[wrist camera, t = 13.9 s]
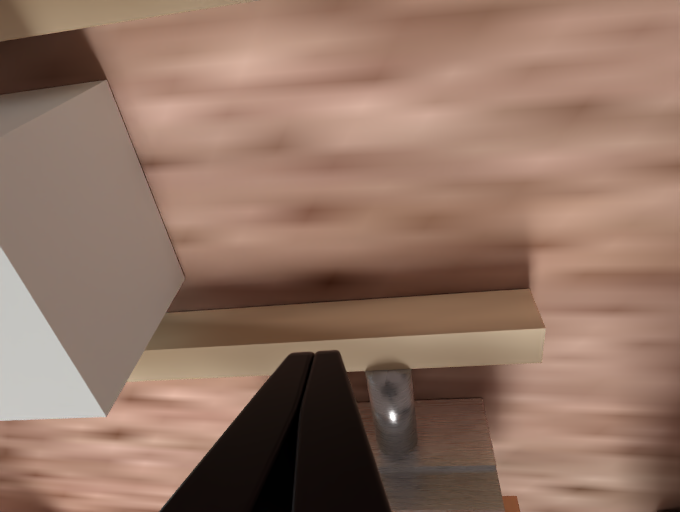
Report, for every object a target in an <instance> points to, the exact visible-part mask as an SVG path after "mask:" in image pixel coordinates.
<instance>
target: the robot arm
mask: <svg viewBox="0 0 680 512" xmlns="http://www.w3.org/2000/svg"><path fill="white" fill-rule="evenodd" d="M159 512H392V510H391V507H390V503H389V500H388V497H387V494H386V491H385V488H384V485H383V482H382V479H381V476H380V473H379V470H378V467H377V464H376V461H375V457H374V454H373V451H372V448H371V445H370V442H369V439H368V436H367V433H366V430H365V427H364V424H363V421H362V418H361V415H360V412H359V408H358V405H357V402H356V399H355V396H354V393H353V390H352V387H351V384H350V381H349V378H348V375H347V372H346V369H345V366H344V362H343V359H342V356H341V354H340V352H339V351H338V350H326V351H317V352H316V353H315V354H314V353H313V352H310V351H309V352H293V353H290V354H289V355H288V356H287V357H286V358H285V359H284V360H283V362H282V363H281V364H280V365H279V367H278V368H277V369H276V370H275V371H274V373H273V374H272V375H271V376H270V377H269V379H268V380H267V381H266V382H265V384H264V385H263V386H262V387H261V388H260V390H259V391H258V392H257V393H256V394H255V396H254V397H253V398H252V399H251V401H250V402H249V403H248V404H247V405H246V407H245V408H244V409H243V410H242V411H241V413H240V414H239V415H238V416H237V418H236V419H235V420H234V421H233V422H232V424H231V425H230V426H229V427H228V428H227V430H226V431H225V432H224V433H223V435H222V436H221V437H220V438H219V439H218V441H217V442H216V443H215V444H214V446H213V447H212V448H211V449H210V450H209V452H208V453H207V454H206V455H205V456H204V458H203V459H202V460H201V461H200V463H199V464H198V465H197V466H196V467H195V469H194V470H193V471H192V472H191V473H190V475H189V476H188V477H187V478H186V480H185V481H184V482H183V483H182V484H181V486H180V487H179V488H178V489H177V490H176V492H175V493H174V494H173V495H172V497H171V498H170V499H169V500H168V501H167V503H166V504H165V505H164V506H163V507H162V509H161V510H160V511H159Z"/></svg>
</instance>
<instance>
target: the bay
mask: <svg viewBox="0 0 680 512" xmlns="http://www.w3.org/2000/svg"><path fill="white" fill-rule="evenodd" d="M252 1H258V0H0V41H7V40H13V39H19V38H25V37H32V36H38V35H44V34H51V33H57V32H63V31H69V30H76V29H82V28H88V27H95V26H101V25H107V24H113V23H120V22H126V21H132V20H139V19H145V18H151V17H157V16H164V15H170V14H176V13H183V12H189V11H195V10H201V9H208V8H214V7H220V6H227V5H233V4H239V3H245V2H252ZM545 330H546V328H545V325H544V323H543V320H542V318H541V316H540V313H539V311H538V308H537V306H536V303H535V301H534V298H533V296H532V294H531V291H530V289H517V290H502V291H487V292H472V293H457V294H442V295H427V296H412V297H397V298H382V299H367V300H352V301H337V302H322V303H307V304H292V305H277V306H262V307H247V308H232V309H217V310H203V311H188V312H173V313H165V315H164V317H163V319H162V320H161V322H160V324H159V326H158V327H157V329H156V331H155V333H154V334H153V336H152V338H151V340H150V341H149V343H148V345H147V347H146V348H145V350H144V352H143V354H142V355H141V357H140V359H139V361H138V362H137V364H136V366H135V368H134V369H133V371H132V373H131V375H130V376H129V378H128V380H127V382H136V381H157V380H179V379H201V378H223V377H244V376H266V375H272V374H273V373H274V371H275V370H276V369H277V368H278V367H279V365H280V364H281V363H282V362H283V360H284V359H285V358H286V357H287V356H288V355H289V354H290V353H293V352H309V351H310V352H313V353H314V354H315V353H316V352H317V351H326V350H338V351H339V352H340V354H341V356H342V359H343V362H344V366H345V369H346V372H353V371H375V370H397V369H418V368H440V367H462V366H484V365H505V364H527V363H542V356H543V348H544V339H545Z"/></svg>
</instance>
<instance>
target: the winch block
mask: <svg viewBox="0 0 680 512" xmlns="http://www.w3.org/2000/svg"><path fill="white" fill-rule="evenodd" d="M365 375H366V381H367V387H368V393H369V399H370V402H362V403H357V405H358V408H359V412H360V415H361V418H362V421H363V424H364V427H365V430H366V433H367V436H368V439H369V442H370V445H371V448H372V451H373V454H374V457H375V461H376V464H377V467H378V470H379V473H380V476H381V479H382V482H383V485H384V488H385V491H386V494H387V497H388V500H389V503H390V507H391V510H392V512H505V508H504V504H503V499H502V494H501V489H500V485H499V480H498V475H497V470H496V461H495V457H494V452H493V447H492V443H491V438H490V433H489V428H488V424H487V419H486V414H485V409H484V405H483V400H482V398H471V399H444V400H417V401H414V390H413V379H412V369H397V370H375V371H365Z"/></svg>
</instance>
